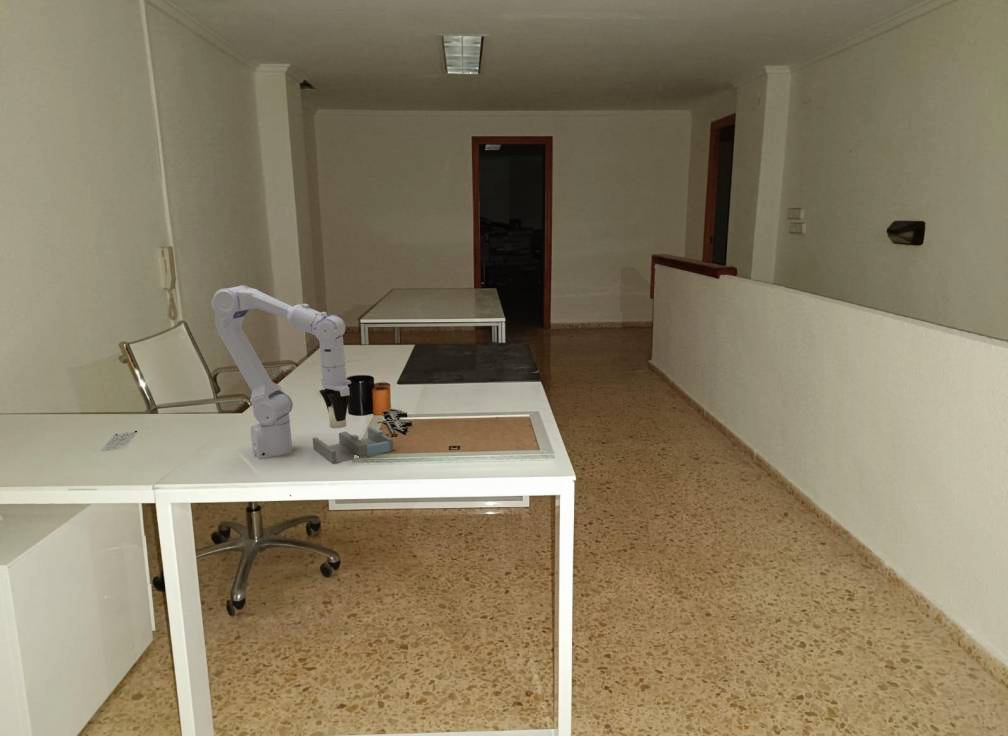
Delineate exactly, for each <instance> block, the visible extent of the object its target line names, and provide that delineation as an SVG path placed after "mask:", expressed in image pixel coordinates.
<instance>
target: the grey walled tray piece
mask: <svg viewBox="0 0 1008 736" xmlns="http://www.w3.org/2000/svg"><path fill="white" fill-rule="evenodd" d="M366 430H367V437H366V438H363V439H360V437H359V435H358V434H351V433H349V432H348V431H342V432H338V440H339V443H337V444H332V445H328V444H327V443H325V442H323V440H321V439H319V438H318V437H312V446H313V448H312V449H313V450H314V451H315V452H317V454H319V455H320V456H322V457H323V459H325V460H327V461H328V462H329V463H331V464H332V465H335V464H338V463H344V462H348V461H353V460H355V459H354V455H357V456H359V457H363V458H365V457H364V456H367V457H371V456H370V455H372V456H376V455H380V454H385V453H390V452H393V451H394V439H393V438H391V437H390V436H388V435H386V434H384V431H383V430H381V429H376V428H374V427H372V426H367V429H366Z"/></svg>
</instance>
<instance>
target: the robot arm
mask: <svg viewBox="0 0 1008 736" xmlns="http://www.w3.org/2000/svg"><path fill="white" fill-rule="evenodd" d="M210 308H211V309H212V311H213V312H214V313H213V314H214V321H215V323H214V324H215V329H216V332H217V333H218V336H219V337H220V338H221V341H222V342H223V344H224V346H225V347H226V349H227V351H228V352H229V354H230V356H231V357H232V360H233V361H234V363H235V365H236V367H237V368H238V370H239V372H240V374H241V376H242V377H243V379H244V381H245V382H246V384H247V385H248V387H249V389H250V391H251V395H250V399H249V401H250V402H249V403H250V404H251V406H252V409H253V416H254V418H255V420H256V421H257V422H258V424H255V425H251V427H250V437H251V446H252V447H251V448H252V454H253V455H254V456H255V457H256V458H257V459H258V460H262V459H266V458H271V457H272V458H273V457H281V456H284V455H288V454H290V453H292V452H293V443H292V442H293V441H292V431H291V421H290V420H291V419H290V413H291V412H292V410H293V407H294V404H293V403H294V402H293V399H292V398H291V396H290V395H289V394H287V393H286V392H285V391H284V390H283V389H282V387H281V386H280V385H279V384H277V383H275V381H274V382H273V381H272V379H271V377H270V375H269V374H268V372H267V370H266V369H265V367H264V365H263V363H262V361H261V359H260V358H259V356H258V354H257V352H256V350H255V349H254V347H253V345H252V343H251V342H250V340H249V338H248V337H247V335H246V334H245V331H244V330H243V327H242V326H243V322H244V319H245V317H246V316H247V314H248V313H249V312H250V311H251V310H254V309H257V310H260V311H264V312H266V313H270V314H272V315H275V316H278V317H280V318H284V319H286V320H287V321H288V324H289V325H290V326H291V327H292V328H293V327H294V328H295V329H298V330H300V331H303V332H305V333H308V334H310V335H313V336H315V338H316V339H317V340H318V341H319V342H318V343H319V352H320V353H319V355H320V364H321V365H320V366H321V378H320V381H321V386H322V388H323V389H320V390H319V394H320V395H321V396H322V398H323V400H324V403H325V406H326V409H327V413H329V408H328V407H329V406H333V410H334V415H335V418H336V421H343V420H345V419H346V420H347V412H348V411H347V410H348V406H349V403H350V400H351V398H352V397H353V393H352V392H351V391H350V387H349V386H348V385H351V384H352V381H351V380H350V379H347V373H346V372H347V371H346V362H345V361H346V360H345V359H346V358H345V348H344V347H345V346H344V337H343V335H344V334H345V332H346V323H345V322H344V320H343V319H342V317H339V316H338V315H337V314H331V315H328V313H327V312H326V311H322V312H320V311H318V310H316V309H313V308H312V307H311V308H310V305H309V304H307V303H302V304H299V303H298V304H296V305H293V306H292V305H291V304H288V303H286V302H283V301H281V300H279V299H278V298H275V297H273V296H270V295H269V294H266V293H264V292H262V291H260V290H258V289H257V288H254V287H253V288H252V287H249V286H247V285H244V284H243V285H242V284H241V285H237V286H234V287H227V288H221V289H218V290H216V291H215V293H214V294H213V298H212V300H211V303H210ZM331 403H332V404H331Z"/></svg>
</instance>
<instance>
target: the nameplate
mask: <svg viewBox="0 0 1008 736" xmlns="http://www.w3.org/2000/svg"><path fill="white" fill-rule="evenodd" d="M389 409H390V411H384V412H383V411H382V414H383V413H384V415H383V418H384V420H385V421H377V422H376V423H377V424H383V425H385V426H386V428H387V429H388V431H389V433H390V434H391V435H395V434H396V432H398V433H400V434H402V435H404V436H406V435H405V434H406V433H408V427H412V426H413V422H412V421H409V420H408V421H407V420H400V418H407V417H408V413H407V412H406V411H402V410H400V409H396V408H389ZM395 431H396V432H395Z"/></svg>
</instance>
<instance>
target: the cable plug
mask: <svg viewBox="0 0 1008 736" xmlns="http://www.w3.org/2000/svg"><path fill="white" fill-rule="evenodd" d="M331 404H332V403H331ZM328 408H329V412H328V417H329V418H328V419H329V428H330V429H342V428H345V427H346V426H347V418H346V419H345V420H343V421H336V418H335V415H334V410H333V406H329V407H328Z"/></svg>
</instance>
